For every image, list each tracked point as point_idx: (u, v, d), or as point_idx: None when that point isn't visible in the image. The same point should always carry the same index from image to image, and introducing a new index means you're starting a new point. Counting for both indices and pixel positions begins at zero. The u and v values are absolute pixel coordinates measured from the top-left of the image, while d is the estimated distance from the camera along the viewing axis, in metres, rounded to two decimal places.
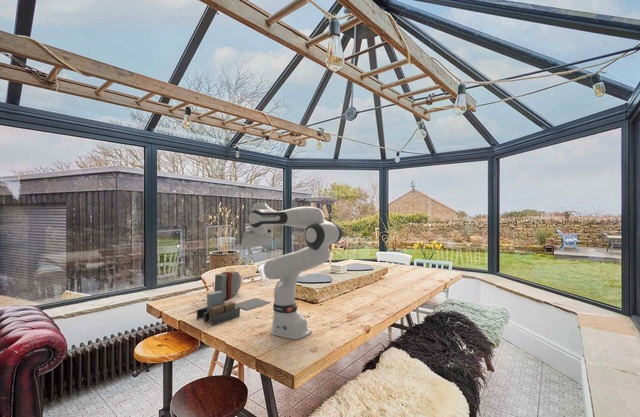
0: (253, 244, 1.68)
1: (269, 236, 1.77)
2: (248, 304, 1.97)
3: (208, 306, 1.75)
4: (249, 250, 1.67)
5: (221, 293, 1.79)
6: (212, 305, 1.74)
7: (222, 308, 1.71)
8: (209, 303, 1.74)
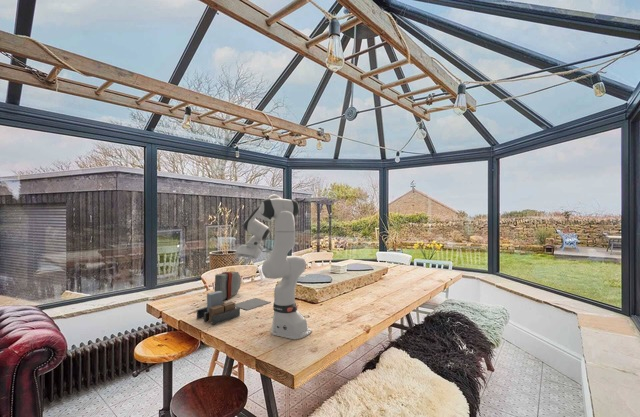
0: (240, 252, 1.97)
1: (255, 249, 1.92)
2: (248, 304, 1.97)
3: (208, 306, 1.75)
4: (237, 257, 1.97)
5: (221, 293, 1.79)
6: (212, 305, 1.74)
7: (222, 308, 1.71)
8: (209, 303, 1.74)
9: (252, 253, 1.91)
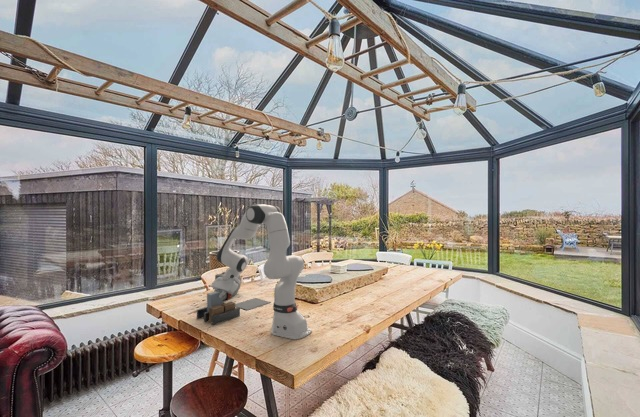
0: (216, 285, 1.83)
1: (231, 283, 1.78)
2: (248, 304, 1.97)
3: (208, 306, 1.75)
4: (214, 291, 1.82)
5: None
6: (212, 305, 1.74)
7: (222, 308, 1.70)
8: (209, 303, 1.74)
9: (228, 288, 1.76)
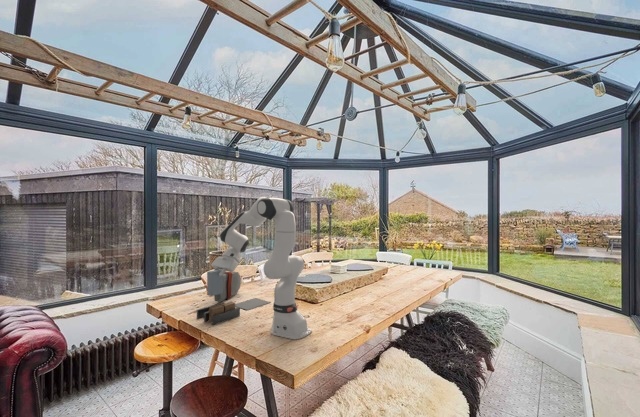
0: (216, 264, 1.83)
1: (231, 261, 1.78)
2: (248, 304, 1.97)
3: (208, 284, 1.75)
4: None
5: None
6: (212, 283, 1.74)
7: (222, 308, 1.71)
8: (209, 281, 1.74)
9: (228, 266, 1.76)
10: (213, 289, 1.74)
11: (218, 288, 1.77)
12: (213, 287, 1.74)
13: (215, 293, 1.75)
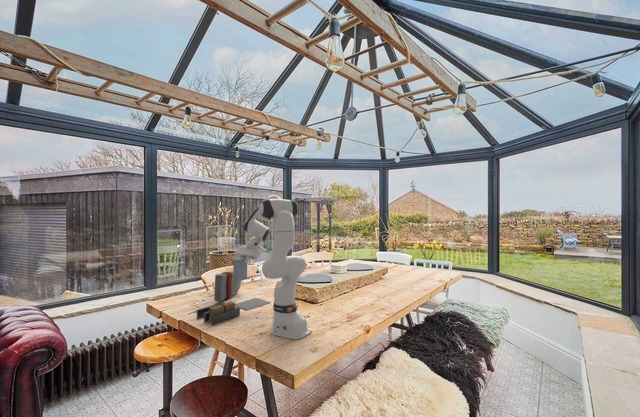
0: (241, 252, 1.98)
1: (255, 249, 1.93)
2: (248, 304, 1.97)
3: (234, 270, 1.90)
4: None
5: None
6: (238, 269, 1.89)
7: (222, 308, 1.70)
8: (235, 267, 1.89)
9: (252, 254, 1.91)
10: (239, 275, 1.89)
11: (243, 275, 1.92)
12: (239, 273, 1.89)
13: (240, 279, 1.90)
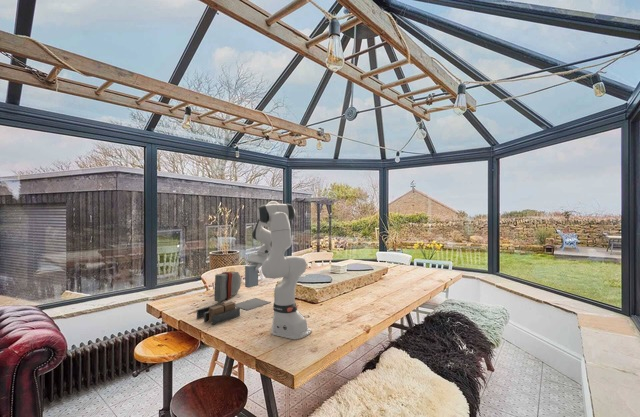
0: (252, 260, 2.05)
1: (266, 257, 2.00)
2: (248, 304, 1.97)
3: (246, 277, 1.97)
4: None
5: None
6: (250, 276, 1.96)
7: (222, 308, 1.70)
8: (247, 274, 1.97)
9: (263, 261, 1.98)
10: (250, 281, 1.97)
11: (254, 281, 1.99)
12: (250, 280, 1.97)
13: (252, 285, 1.98)
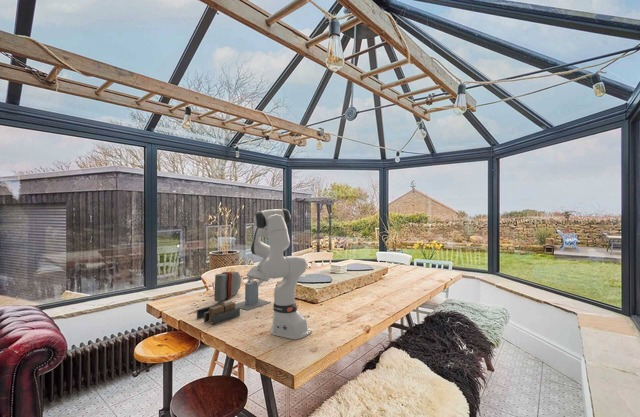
0: (251, 274, 2.05)
1: None
2: None
3: (246, 294, 1.97)
4: (248, 279, 2.05)
5: None
6: (250, 294, 1.96)
7: (222, 308, 1.70)
8: (247, 292, 1.96)
9: (263, 276, 1.98)
10: (251, 299, 1.97)
11: (254, 298, 1.99)
12: (250, 297, 1.97)
13: (252, 303, 1.98)
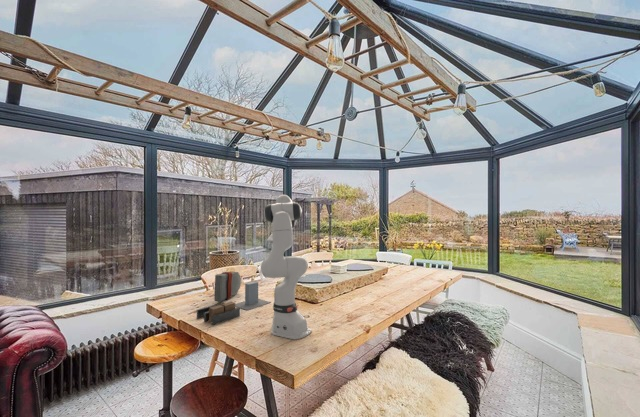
0: (272, 239, 2.11)
1: None
2: None
3: (246, 294, 1.97)
4: None
5: (257, 283, 2.01)
6: (250, 294, 1.96)
7: (222, 308, 1.70)
8: (247, 292, 1.96)
9: None
10: (251, 299, 1.97)
11: (254, 298, 1.99)
12: (250, 297, 1.97)
13: (252, 303, 1.98)
